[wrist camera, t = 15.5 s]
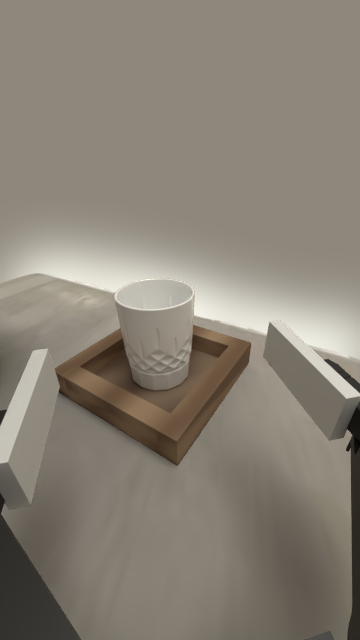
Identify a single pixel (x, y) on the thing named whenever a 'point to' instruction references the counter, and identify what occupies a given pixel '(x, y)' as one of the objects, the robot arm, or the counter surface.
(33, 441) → the robot arm
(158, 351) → the white cup
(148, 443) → the wooden tray
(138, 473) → the counter surface
